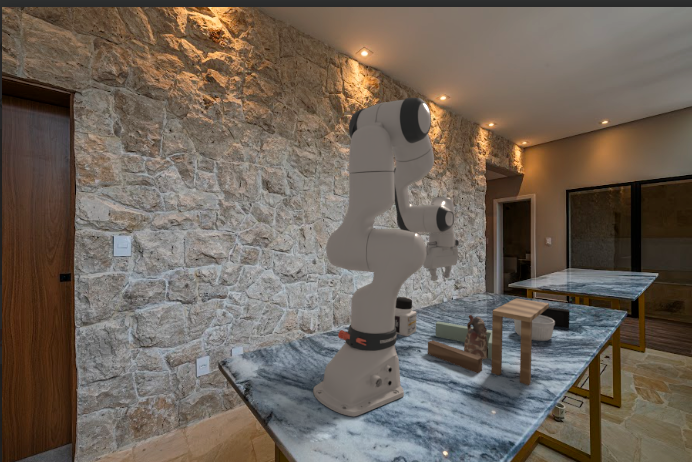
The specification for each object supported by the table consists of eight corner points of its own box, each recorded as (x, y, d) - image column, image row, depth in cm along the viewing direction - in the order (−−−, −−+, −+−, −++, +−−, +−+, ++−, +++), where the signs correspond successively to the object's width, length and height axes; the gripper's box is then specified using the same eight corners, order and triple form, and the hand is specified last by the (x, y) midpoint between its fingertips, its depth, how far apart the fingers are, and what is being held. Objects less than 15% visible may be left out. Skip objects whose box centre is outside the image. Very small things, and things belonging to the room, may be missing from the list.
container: (407, 336, 108) (408, 301, 108) (388, 332, 113) (389, 298, 113) (416, 331, 115) (417, 297, 115) (398, 327, 119) (399, 294, 119)
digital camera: (568, 325, 126) (568, 308, 126) (569, 328, 122) (569, 311, 122) (538, 320, 132) (539, 304, 132) (539, 323, 127) (539, 307, 127)
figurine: (478, 360, 89) (479, 321, 89) (459, 352, 95) (459, 315, 95) (493, 356, 93) (494, 317, 93) (473, 348, 99) (474, 312, 99)
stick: (477, 374, 81) (477, 359, 81) (427, 354, 94) (427, 342, 94) (481, 371, 83) (482, 357, 83) (432, 352, 95) (432, 340, 95)
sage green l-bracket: (497, 360, 90) (497, 344, 90) (427, 345, 101) (428, 331, 100) (500, 346, 101) (500, 331, 101) (437, 334, 112) (437, 321, 112)
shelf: (528, 385, 75) (530, 317, 75) (491, 372, 82) (492, 310, 82) (547, 359, 91) (548, 303, 91) (515, 350, 97) (516, 298, 97)
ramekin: (563, 343, 105) (563, 323, 105) (525, 342, 106) (526, 322, 106) (539, 330, 119) (540, 313, 119) (506, 329, 119) (506, 312, 119)
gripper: (435, 242, 100) (434, 283, 100) (461, 241, 115) (460, 277, 115) (418, 241, 104) (418, 280, 104) (445, 240, 119) (445, 275, 119)
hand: (440, 279), depth 110 cm, fingers open, 8 cm apart
